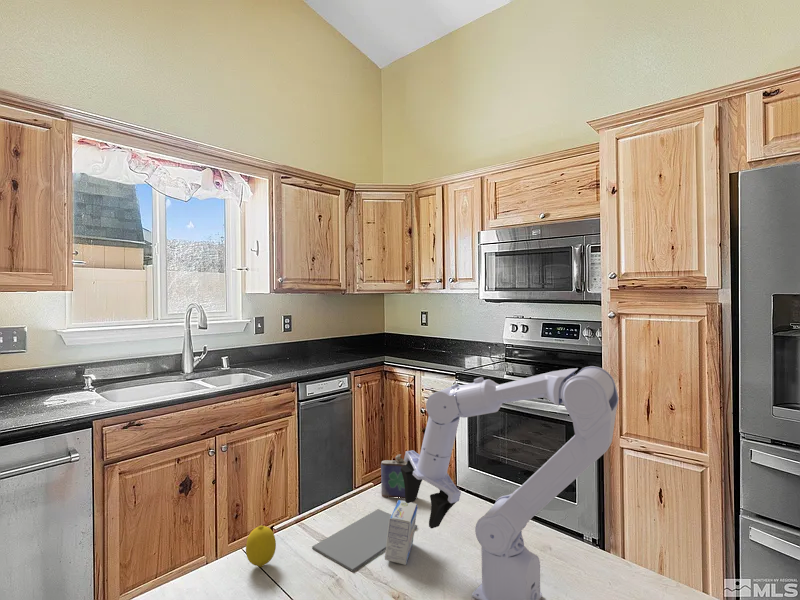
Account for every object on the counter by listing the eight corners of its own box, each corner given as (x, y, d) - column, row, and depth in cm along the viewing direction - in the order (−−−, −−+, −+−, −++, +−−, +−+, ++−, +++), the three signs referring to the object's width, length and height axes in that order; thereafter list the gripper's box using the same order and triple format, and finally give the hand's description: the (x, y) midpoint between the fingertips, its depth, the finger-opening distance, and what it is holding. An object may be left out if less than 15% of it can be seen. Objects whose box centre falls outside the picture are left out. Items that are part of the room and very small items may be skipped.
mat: (417, 527, 99) (417, 525, 99) (352, 571, 83) (352, 569, 83) (378, 511, 106) (378, 509, 106) (312, 548, 91) (312, 546, 91)
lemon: (239, 570, 84) (239, 529, 84) (261, 555, 89) (260, 516, 89) (261, 579, 82) (260, 536, 82) (282, 562, 87) (281, 522, 86)
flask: (380, 497, 114) (379, 455, 114) (383, 492, 117) (383, 451, 116) (415, 500, 112) (414, 458, 111) (417, 495, 114) (417, 454, 114)
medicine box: (406, 566, 85) (411, 522, 84) (383, 560, 86) (389, 517, 85) (413, 543, 93) (418, 503, 92) (392, 538, 94) (397, 498, 93)
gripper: (398, 433, 86) (384, 495, 89) (446, 474, 75) (429, 544, 77) (425, 429, 91) (411, 488, 93) (475, 467, 79) (458, 534, 81)
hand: (421, 513), depth 85 cm, fingers open, 7 cm apart
